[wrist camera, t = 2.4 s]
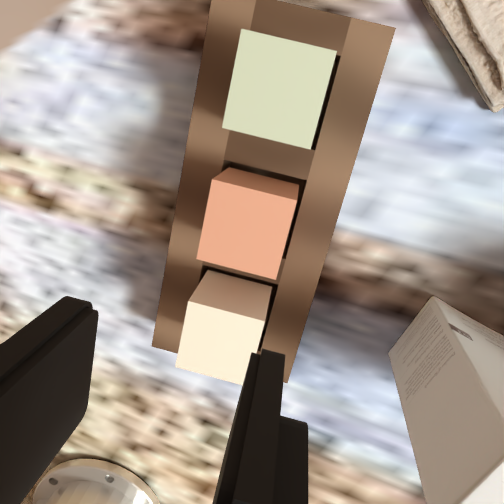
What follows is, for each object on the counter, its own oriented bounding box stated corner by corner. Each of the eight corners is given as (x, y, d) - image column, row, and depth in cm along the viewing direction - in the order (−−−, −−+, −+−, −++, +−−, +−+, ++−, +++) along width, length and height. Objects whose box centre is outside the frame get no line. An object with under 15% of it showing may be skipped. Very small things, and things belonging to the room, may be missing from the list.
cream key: (257, 343, 30) (247, 386, 25) (196, 326, 30) (175, 366, 25) (272, 286, 28) (265, 321, 24) (207, 269, 29) (188, 301, 24)
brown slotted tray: (289, 358, 33) (287, 383, 30) (165, 325, 34) (151, 346, 31) (385, 37, 26) (395, 27, 23) (224, 0, 26) (214, -15, 23)
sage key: (309, 142, 25) (310, 149, 21) (237, 125, 25) (221, 127, 21) (331, 63, 24) (336, 50, 19) (254, 45, 24) (241, 28, 19)
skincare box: (527, 345, 31) (713, 541, 17) (474, 405, 33) (601, 626, 19) (425, 290, 30) (526, 443, 16) (378, 354, 32) (433, 540, 18)
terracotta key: (281, 251, 28) (275, 279, 23) (215, 234, 28) (196, 258, 23) (299, 184, 26) (297, 200, 21) (229, 167, 26) (212, 179, 22)
